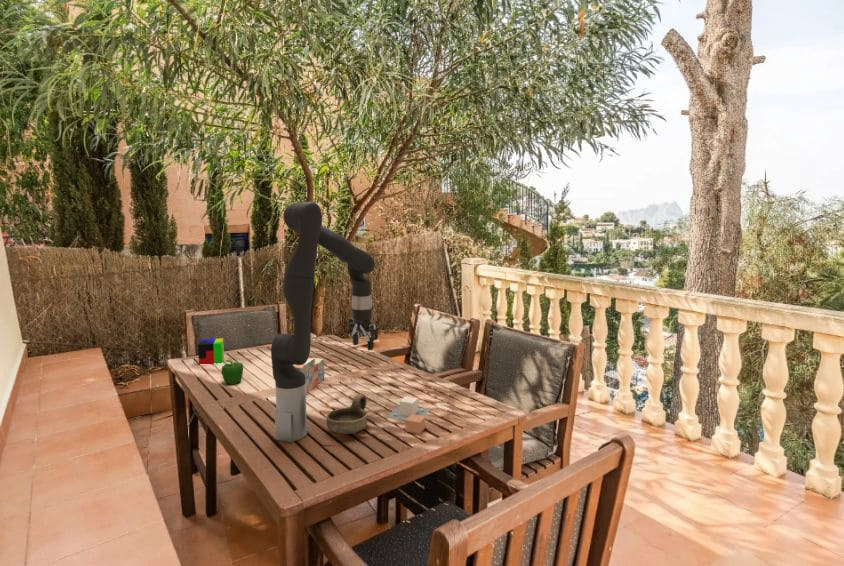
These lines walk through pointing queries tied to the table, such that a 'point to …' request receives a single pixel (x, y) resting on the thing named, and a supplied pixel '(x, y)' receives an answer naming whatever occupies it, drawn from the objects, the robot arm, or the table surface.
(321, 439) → the table surface
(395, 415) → the plate
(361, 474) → the table surface
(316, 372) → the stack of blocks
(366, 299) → the robot arm
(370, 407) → the table surface
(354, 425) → the bowl
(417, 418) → the rust cube
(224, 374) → the bell pepper
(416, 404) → the base cube
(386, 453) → the table surface
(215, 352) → the puzzle toy
